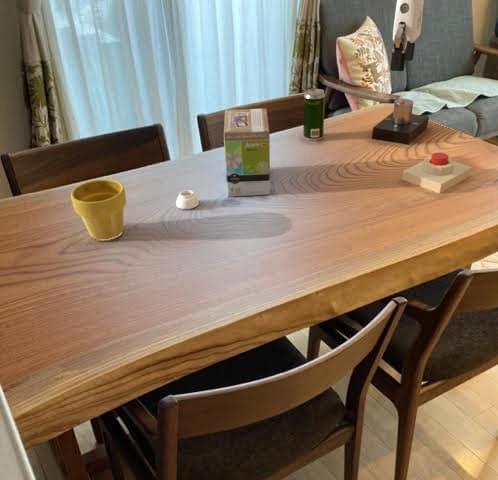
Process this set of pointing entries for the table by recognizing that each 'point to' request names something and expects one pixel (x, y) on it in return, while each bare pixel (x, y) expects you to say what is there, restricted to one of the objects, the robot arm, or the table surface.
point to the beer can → (314, 114)
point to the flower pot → (100, 207)
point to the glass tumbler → (402, 111)
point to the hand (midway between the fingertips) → (401, 65)
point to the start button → (439, 159)
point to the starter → (436, 174)
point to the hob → (400, 129)
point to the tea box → (247, 152)
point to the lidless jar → (187, 200)
